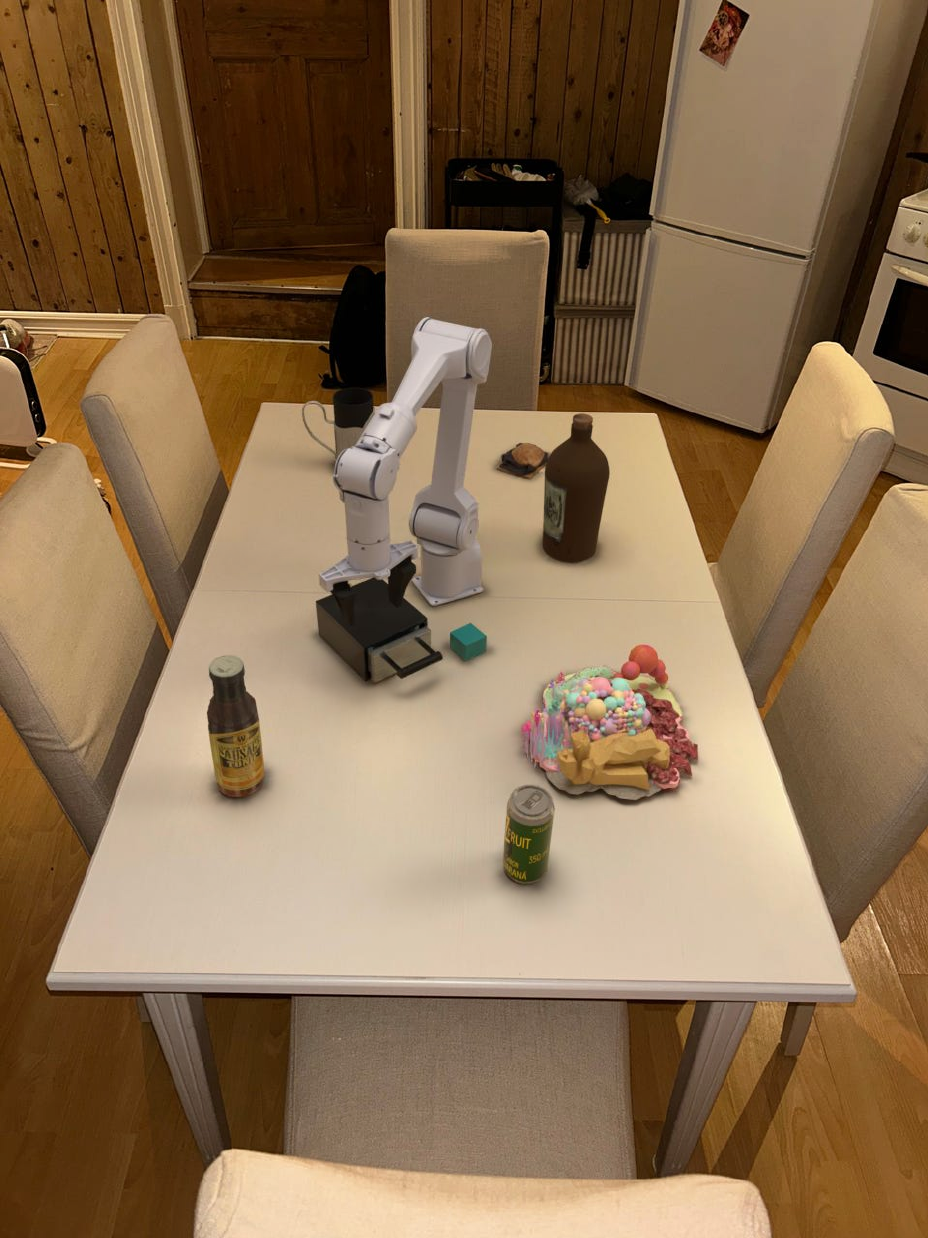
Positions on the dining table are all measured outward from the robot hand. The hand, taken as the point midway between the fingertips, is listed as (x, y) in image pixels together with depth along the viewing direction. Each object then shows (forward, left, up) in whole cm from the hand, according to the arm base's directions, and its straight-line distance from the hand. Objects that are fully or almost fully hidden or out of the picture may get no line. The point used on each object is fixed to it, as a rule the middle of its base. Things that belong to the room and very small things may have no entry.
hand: (372, 612), depth 135 cm
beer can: (-2, +41, -10) cm, 42 cm away
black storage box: (-2, -5, -10) cm, 12 cm away
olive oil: (-43, -14, -10) cm, 46 cm away
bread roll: (-51, -43, -10) cm, 67 cm away
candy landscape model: (-23, +27, -10) cm, 37 cm away
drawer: (-3, -1, -9) cm, 10 cm away
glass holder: (-18, -57, -10) cm, 61 cm away
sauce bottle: (+24, +13, -10) cm, 29 cm away
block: (-14, +2, -10) cm, 18 cm away
